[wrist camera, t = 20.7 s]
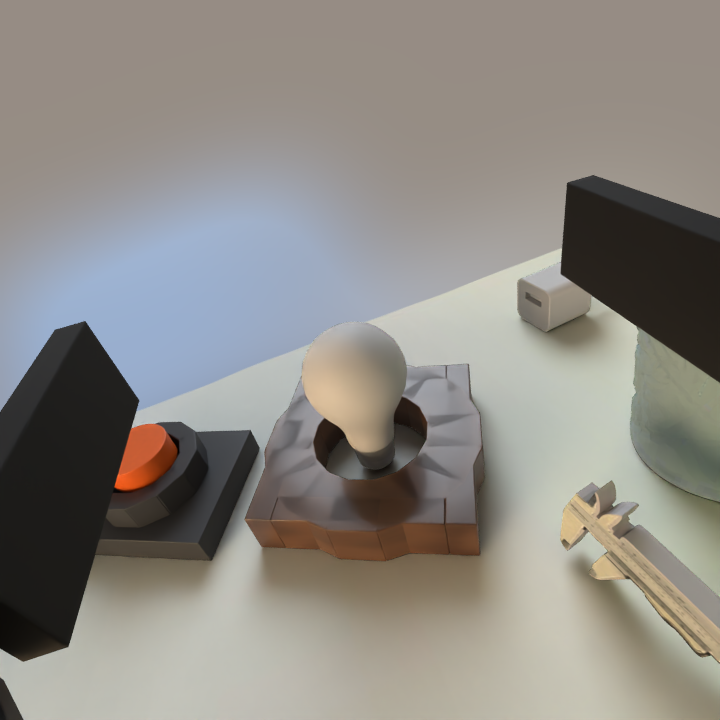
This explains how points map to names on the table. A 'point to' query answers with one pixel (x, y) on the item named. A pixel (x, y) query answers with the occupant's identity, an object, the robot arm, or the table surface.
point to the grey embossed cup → (676, 418)
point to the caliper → (644, 566)
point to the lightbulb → (357, 386)
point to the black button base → (182, 498)
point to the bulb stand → (382, 495)
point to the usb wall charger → (550, 298)
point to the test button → (145, 457)
